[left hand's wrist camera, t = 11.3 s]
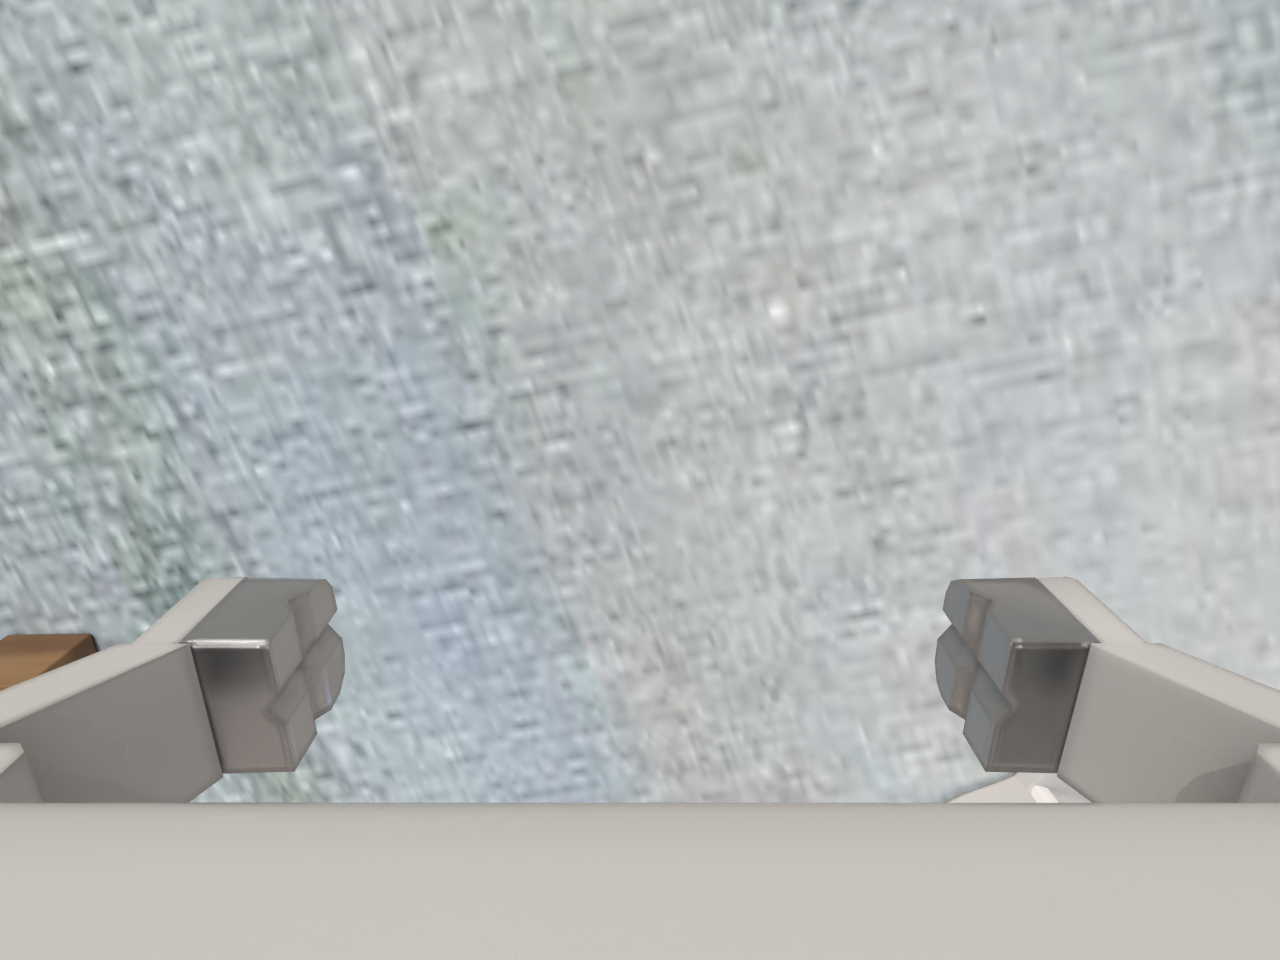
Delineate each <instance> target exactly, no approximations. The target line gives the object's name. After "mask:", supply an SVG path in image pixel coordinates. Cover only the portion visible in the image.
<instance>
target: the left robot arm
mask: <svg viewBox="0 0 1280 960" xmlns="http://www.w3.org/2000/svg"><path fill="white" fill-rule="evenodd" d="M336 611H337V606H336V601H335V596H334V591H333V587H332V586H331V585H330V584H329V583H328V581H327V580H326V579H289V578H247V577H227V578H208V579H203V580H202V581H201V582H200V583H199V584H198V585H197V586H196V587H194V588H193V589H192V590H191V591H190V592H189V593H188V594H187V595H185V596H184V597H183V598H182V599H181V600H180V601H179V602H178V603H177V604H175V605H174V606H173V607H172V608H171V609H170V610H169V611H168V612H166V613H165V614H164V615H163V616H162V617H161V618H160V619H159V620H158V621H156V622H155V623H154V624H153V625H152V626H151V627H150V628H149V629H148V630H146V631H145V632H144V633H143V634H142V635H141V636H140V637H139V638H137V639H136V640H135V641H134V642H133V643H119V644H117V645H114V646H112V647H109V648H107V649H104V650H102V651H99V652H96V653H94V654H91V655H89V656H86V657H84V658H81V659H79V660H76V661H74V662H71V663H69V664H66V665H64V666H61V667H59V668H56V669H54V670H51V671H49V672H46V673H44V674H41V675H39V676H36V677H34V678H31V679H29V680H26V681H24V682H21V683H19V684H16V685H14V686H11V687H9V688H6V689H4V690H1V691H0V960H1280V691H1278V690H1276V689H1273V688H1271V687H1268V686H1266V685H1263V684H1261V683H1258V682H1256V681H1253V680H1251V679H1248V678H1246V677H1243V676H1241V675H1238V674H1236V673H1233V672H1231V671H1228V670H1226V669H1223V668H1221V667H1218V666H1216V665H1213V664H1211V663H1208V662H1206V661H1203V660H1201V659H1198V658H1196V657H1193V656H1191V655H1188V654H1186V653H1183V652H1181V651H1178V650H1176V649H1173V648H1171V647H1168V646H1166V645H1163V644H1161V643H1147V642H1146V641H1145V640H1144V639H1143V638H1141V637H1140V636H1139V635H1138V634H1137V633H1136V632H1135V631H1134V630H1133V629H1131V628H1130V627H1129V626H1128V625H1127V624H1126V623H1125V622H1124V621H1123V620H1121V619H1120V618H1119V617H1118V616H1117V615H1116V614H1115V613H1114V612H1113V611H1111V610H1110V609H1109V608H1108V607H1107V606H1106V605H1105V604H1104V603H1103V602H1101V601H1100V600H1099V599H1098V598H1097V597H1096V596H1095V595H1094V594H1093V593H1091V592H1090V591H1089V590H1088V589H1087V588H1086V587H1085V586H1084V585H1082V584H1081V583H1080V582H1079V581H1078V580H1076V579H1073V578H1069V577H1051V578H998V579H960V580H954V581H951V582H950V585H949V587H948V589H947V591H946V594H945V600H944V605H943V611H944V612H945V614H946V615H947V617H948V619H949V620H950V622H951V623H952V625H951V626H950V627H949V628H948V629H947V630H946V631H945V632H944V633H943V634H942V635H941V636H940V637H939V638H938V640H937V648H936V656H935V668H936V679H937V684H938V687H939V690H940V693H941V696H942V698H943V700H944V702H945V704H946V705H947V707H948V709H949V710H950V711H952V712H953V713H955V714H957V715H958V716H960V717H961V718H963V719H965V724H964V730H963V735H964V736H965V738H966V740H967V741H968V743H969V745H970V746H971V748H972V750H973V752H974V753H975V755H976V757H977V758H978V760H979V762H980V763H981V765H982V767H983V768H984V770H985V772H1017V773H1016V774H1015V775H1013V776H1011V777H1009V778H1007V779H1004V780H1002V781H999V782H997V783H994V784H991V785H988V786H985V787H982V788H979V789H976V790H973V791H970V792H968V793H965V794H963V795H960V796H958V797H956V798H954V799H952V800H950V801H948V802H946V803H189V802H190V801H191V800H193V799H194V798H195V797H197V796H198V795H199V794H201V793H202V792H204V791H205V790H206V789H208V788H209V787H210V786H212V785H213V784H214V783H216V782H217V781H218V780H220V779H221V778H222V777H223V773H259V772H295V770H296V768H297V767H298V765H299V763H300V762H301V760H302V758H303V757H304V755H305V753H306V752H307V750H308V748H309V746H310V745H311V743H312V741H313V740H314V738H315V736H316V735H317V730H316V725H315V719H317V718H319V717H320V716H322V715H323V714H325V713H327V712H328V711H330V710H331V709H332V707H333V705H334V704H335V702H336V700H337V698H338V696H339V694H340V690H341V686H342V682H343V678H344V674H345V653H344V647H343V640H342V638H341V637H340V636H339V635H338V634H337V633H336V632H335V631H334V630H333V629H332V628H331V627H330V626H329V625H328V623H329V622H330V620H331V618H332V617H333V615H334V614H335V612H336Z"/></svg>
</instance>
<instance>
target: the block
mask: <svg viewBox="0 0 1280 960" xmlns="http://www.w3.org/2000/svg"><path fill="white" fill-rule="evenodd" d="M96 652H97V651H96V648H95V645H94V642H93V639H92V636H91V634H45V635H8V636H6V637H5V638H3V639H2V640H0V691H1V690H4V689H6V688H9V687H11V686H14V685H16V684H19V683H21V682H24V681H26V680H29V679H31V678H34V677H36V676H39V675H41V674H44V673H46V672H49V671H51V670H54V669H56V668H59V667H61V666H64V665H66V664H69V663H71V662H74V661H76V660H79V659H81V658H84V657H86V656H89V655H91V654H94V653H96Z"/></svg>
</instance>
